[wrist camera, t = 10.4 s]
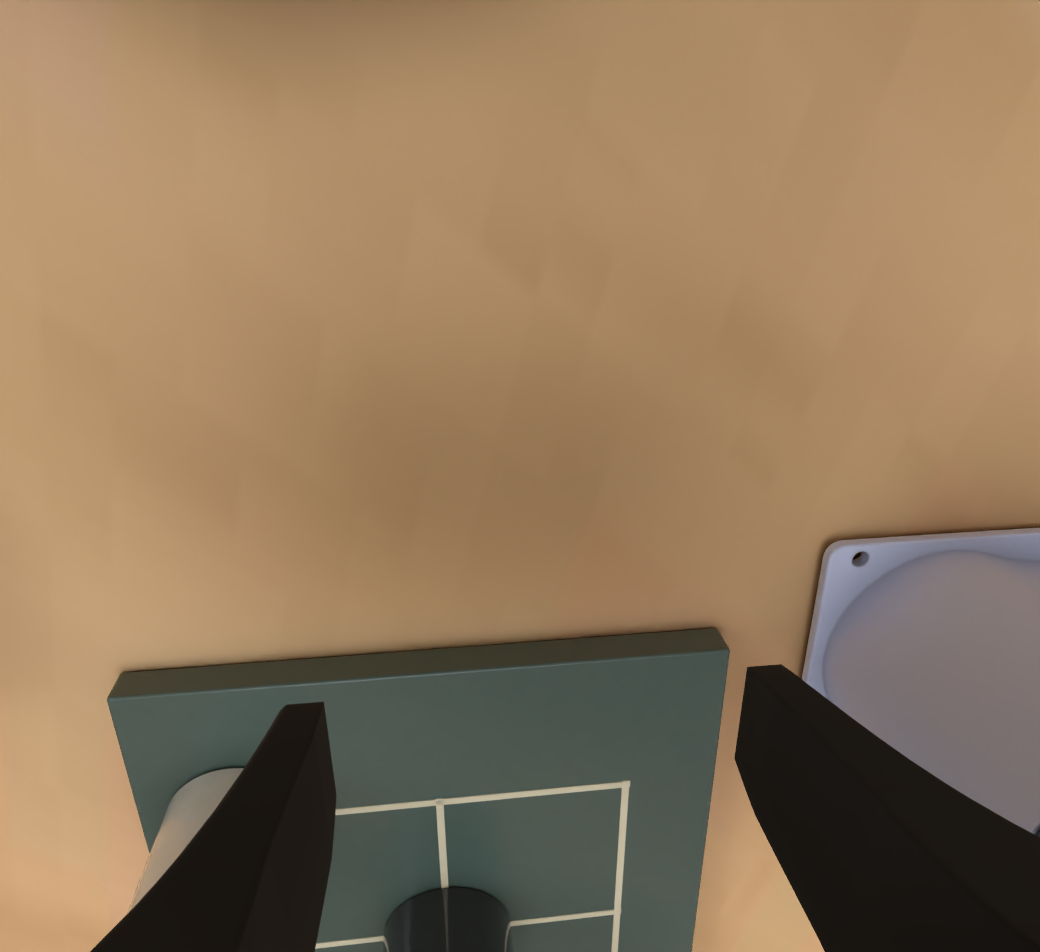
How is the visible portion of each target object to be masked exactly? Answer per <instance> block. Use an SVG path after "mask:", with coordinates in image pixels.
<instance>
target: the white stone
mask: <svg viewBox="0 0 1040 952" xmlns="http://www.w3.org/2000/svg"><path fill="white" fill-rule="evenodd" d="M243 769H244V768H228V769H221V770H216V771H212V772H209V773H206V774H203V775H201V776H199V777H197V778H195V779H193V780H191V781H190V782H188V783H187V784H185V785H184V786H183V787H182V788H181V789H180V790H178V792H177V793H176V794H175V795H174V796H173V798H172V799H171V801H170V802H169V804H168V807H167V809H166V812H165V815H164V817H163V820H162V823H161V825H160V828H159V830H158V833H157V836H156V838H155V841H154V844H153V846H152V849H151V852H150V854H149V857H148V860H147V862H146V865H145V867H144V870H143V873H142V875H141V878H140V881H139V883H138V886H137V889H136V891H135V894H134V897H133V899H132V902H131V905H130V907H129V910H128V912H127V914H128V913H129V912H130V911H131V910H132V909H133V908H134V906H135V905H136V904H137V903H138V902H139V901H140V900H141V899H142V898H143V897H144V895H145V894H146V893H147V892H148V891H149V890H150V889H151V888H152V887H153V886H154V884H155V883H156V882H157V881H158V880H159V879H160V878H161V876H162V875H163V874H164V873H165V872H166V871H167V869H168V868H169V867H170V866H171V865H172V863H173V862H174V861H175V860H176V859H177V857H178V856H179V855H180V854H181V853H182V851H183V850H184V849H185V847H186V846H187V845H188V844H189V842H190V841H191V840H192V838H193V837H194V836H195V835H196V833H197V832H198V831H199V830H200V828H201V827H202V826H203V824H204V823H205V822H206V821H207V819H208V818H209V817H210V815H211V814H212V813H213V811H214V810H215V809H216V807H217V806H218V805H219V803H220V802H221V800H222V799H223V798H224V796H225V795H226V793H227V792H228V790H229V789H230V788H231V786H232V785H233V783H234V782H235V780H236V779H237V778H238V776H239V775H240V773H241V772H242V770H243Z"/></svg>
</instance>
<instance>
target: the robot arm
mask: <svg viewBox="0 0 1040 952" xmlns="http://www.w3.org/2000/svg"><path fill="white" fill-rule="evenodd" d="M858 552H862V553H861V556H860V557H859V558H857V559H855V560H852V559H853V557H854V555H856V554H857V553H858ZM735 761H736V764H737V766H738V769H739V772H740V775H741V778H742V781H743V784H744V787H745V789H746V792H747V795H748V797H749V800H750V802H751V805H752V808H753V810H754V813H755V815H756V817H757V819H758V821H759V823H760V825H761V827H762V829H763V831H764V833H765V835H766V837H767V839H768V841H769V843H770V845H771V847H772V849H773V851H774V853H775V855H776V857H777V859H778V861H779V863H780V865H781V867H782V869H783V871H784V873H785V874H786V876H787V878H788V880H789V882H790V884H791V886H792V888H793V890H794V892H795V894H796V896H797V898H798V900H799V902H800V903H801V905H802V907H803V909H804V911H805V913H806V915H807V917H808V919H809V921H810V923H811V925H812V927H813V929H814V931H815V933H816V934H817V936H818V938H819V940H820V943H821V945H822V947H823V949H824V951H825V952H1040V527H1039V528H1023V529H1008V530H992V531H977V532H961V533H945V534H930V535H914V536H898V537H883V538H867V539H851V540H840V541H836V542H834V543H832V544H831V545H830V546H829V547H828V548H827V549H826V550H825V553H824V555H823V561H822V567H821V572H820V578H819V584H818V589H817V595H816V601H815V606H814V612H813V618H812V623H811V629H810V635H809V640H808V646H807V652H806V657H805V663H804V669H803V674H802V679H801V678H799V677H798V676H797V675H795V674H794V673H792V672H791V671H790V670H788V669H787V668H785V667H784V666H783V665H781V664H780V665H768V666H755V667H747V673H746V680H745V688H744V695H743V702H742V709H741V716H740V723H739V730H738V738H737V745H736V752H735ZM336 797H337V795H336V787H335V780H334V773H333V765H332V758H331V750H330V743H329V736H328V728H327V721H326V713H325V706H324V702H312V703H300V704H287V705H285V706H284V707H283V708H282V709H281V710H280V711H279V713H278V715H277V716H276V718H275V720H274V721H273V723H272V725H271V726H270V728H269V730H268V731H267V733H266V735H265V736H264V738H263V740H262V741H261V743H260V744H259V746H258V747H257V749H256V751H255V752H254V754H253V755H252V757H251V758H250V760H249V761H248V763H247V764H246V766H245V767H244V769H243V770H242V772H241V773H240V775H239V776H238V778H237V779H236V780H235V782H234V783H233V785H232V786H231V788H230V789H229V790H228V792H227V793H226V795H225V796H224V798H223V799H222V800H221V802H220V803H219V805H218V806H217V807H216V809H215V810H214V811H213V813H212V814H211V815H210V817H209V818H208V819H207V821H206V822H205V823H204V824H203V826H202V827H201V828H200V830H199V831H198V832H197V833H196V835H195V836H194V837H193V838H192V840H191V841H190V842H189V844H188V845H187V846H186V847H185V849H184V850H183V851H182V853H181V854H180V855H179V856H178V857H177V859H176V860H175V861H174V862H173V863H172V865H171V866H170V867H169V868H168V869H167V871H166V872H165V873H164V874H163V875H162V876H161V878H160V879H159V880H158V881H157V882H156V883H155V884H154V886H153V887H152V888H151V889H150V890H149V891H148V892H147V893H146V894H145V895H144V897H143V898H142V899H141V900H140V901H139V902H138V903H137V904H136V905H135V906H134V908H133V909H132V910H131V911H130V912H129V913H128V914H127V915H126V916H125V917H124V918H123V919H122V920H121V921H120V922H119V923H118V924H117V925H116V926H115V927H114V928H113V929H112V930H111V931H110V932H109V933H108V934H107V935H106V936H105V937H104V938H103V939H102V940H101V941H100V942H99V943H98V944H97V945H96V946H95V947H94V948H93V950H92V951H91V952H315V948H316V942H317V937H318V932H319V926H320V921H321V916H322V910H323V905H324V899H325V894H326V889H327V883H328V878H329V872H330V866H331V861H332V852H333V840H334V827H335V812H336Z"/></svg>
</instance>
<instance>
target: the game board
mask: <svg viewBox="0 0 1040 952" xmlns="http://www.w3.org/2000/svg"><path fill="white" fill-rule="evenodd" d="M729 653H730V650H729V648H728V646H727V644H726V643H725V641H724V640H723V638H722V636H721V635H720V633H719V631H718V630H717V629H716V628H711V629H697V630H684V631H671V632H657V633H644V634H631V635H618V636H604V637H591V638H578V639H564V640H551V641H538V642H525V643H511V644H498V645H485V646H472V647H458V648H445V649H432V650H418V651H405V652H392V653H379V654H365V655H352V656H339V657H325V658H312V659H299V660H286V661H272V662H259V663H246V664H232V665H219V666H206V667H193V668H179V669H166V670H153V671H139V672H126V673H122V674H120V676H119V678H118V680H117V681H116V683H115V685H114V687H113V689H112V690H111V692H110V694H109V696H108V698H107V702H108V705H109V709H110V713H111V716H112V720H113V723H114V727H115V731H116V734H117V738H118V741H119V745H120V749H121V752H122V756H123V759H124V763H125V767H126V770H127V774H128V778H129V781H130V785H131V788H132V792H133V796H134V799H135V803H136V806H137V810H138V814H139V817H140V821H141V824H142V828H143V832H144V835H145V839H146V842H147V846H148V850H149V853H150V852H151V849H152V846H153V844H154V841H155V838H156V836H157V833H158V830H159V828H160V825H161V823H162V820H163V817H164V815H165V812H166V809H167V807H168V804H169V802H170V801H171V799H172V798H173V796H174V795H175V794H176V793H177V792H178V790H180V789H181V788H182V787H183V786H184V785H185V784H187V783H188V782H190V781H191V780H193V779H195V778H197V777H199V776H201V775H203V774H206V773H209V772H212V771H216V770H221V769H228V768H244V767H245V766H246V764H247V763H248V761H249V760H250V758H251V757H252V755H253V754H254V752H255V751H256V749H257V747H258V746H259V744H260V743H261V741H262V740H263V738H264V736H265V735H266V733H267V731H268V730H269V728H270V726H271V725H272V723H273V721H274V720H275V718H276V716H277V715H278V713H279V711H280V710H281V709H282V708H283V707H284V706H285V705H287V704H300V703H312V702H324V706H325V713H326V721H327V728H328V736H329V743H330V750H331V758H332V765H333V773H334V780H335V787H336V795H337V797H336V812H335V827H334V840H333V852H332V861H331V866H330V872H329V878H328V883H327V889H326V894H325V899H324V905H323V910H322V916H321V921H320V926H319V932H318V937H317V942H316V948H315V952H383V934H384V929H385V926H386V923H387V921H388V920H389V918H390V916H391V915H392V914H393V913H394V911H395V910H396V909H397V908H398V907H399V906H401V905H402V904H403V903H405V902H406V901H408V900H409V899H411V898H413V897H415V896H417V895H419V894H422V893H425V892H427V891H431V890H435V889H441V888H450V887H460V888H469V889H474V890H478V891H481V892H484V893H486V894H488V895H490V896H492V897H493V898H495V899H496V900H498V901H499V902H500V903H501V904H502V905H503V907H504V908H505V909H506V911H507V913H508V915H509V917H510V921H511V930H512V939H513V947H514V952H691V951H692V943H693V935H694V928H695V920H696V912H697V904H698V896H699V888H700V880H701V873H702V865H703V857H704V849H705V841H706V833H707V825H708V818H709V810H710V802H711V794H712V786H713V778H714V770H715V763H716V755H717V747H718V739H719V731H720V723H721V715H722V708H723V700H724V692H725V684H726V676H727V668H728V660H729Z"/></svg>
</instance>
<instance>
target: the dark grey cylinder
mask: <svg viewBox="0 0 1040 952" xmlns="http://www.w3.org/2000/svg"><path fill="white" fill-rule="evenodd" d="M383 952H514V947H513V939H512V930H511V921H510V917H509V915H508V913H507V911H506V909H505V908H504V907H503V905H502V904H501V903H500V902H499V901H498V900H496V899H495V898H493V897H492V896H490V895H488V894H486V893H484V892H481V891H478V890H474V889H469V888H460V887H450V888H441V889H435V890H431V891H427V892H425V893H422V894H419V895H417V896H415V897H413V898H411V899H409V900H408V901H406V902H405V903H403V904H402V905H401V906H399V907H398V908H397V909H396V910H395V911H394V913H393V914H392V915H391V916H390V918H389V920H388V921H387V923H386V926H385V929H384V934H383Z"/></svg>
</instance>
